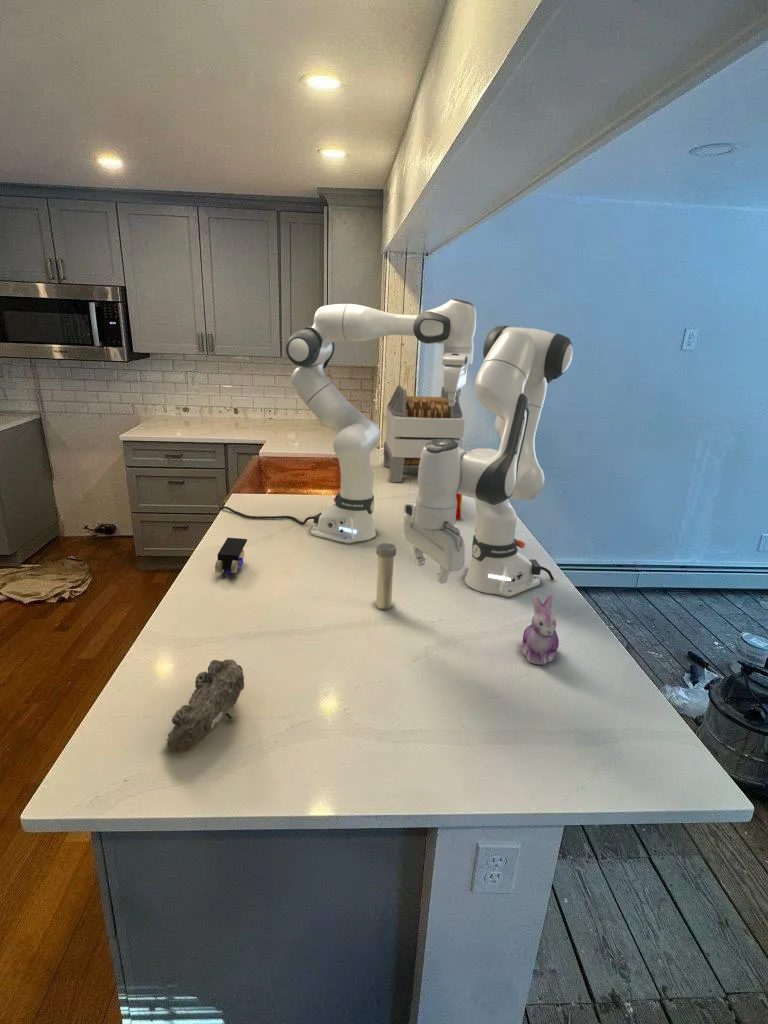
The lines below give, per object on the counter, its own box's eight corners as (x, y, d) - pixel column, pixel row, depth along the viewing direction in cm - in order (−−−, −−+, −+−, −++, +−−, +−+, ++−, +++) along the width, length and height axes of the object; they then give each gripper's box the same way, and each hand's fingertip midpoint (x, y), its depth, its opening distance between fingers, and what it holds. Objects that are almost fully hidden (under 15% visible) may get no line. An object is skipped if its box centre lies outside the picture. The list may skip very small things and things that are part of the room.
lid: (385, 548, 150) (385, 541, 149) (399, 554, 147) (400, 547, 146) (372, 553, 146) (372, 546, 146) (387, 559, 143) (387, 552, 142)
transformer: (382, 463, 289) (386, 382, 275) (445, 464, 293) (451, 384, 279) (390, 482, 257) (394, 392, 243) (460, 483, 261) (468, 394, 247)
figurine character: (238, 584, 162) (249, 557, 175) (236, 562, 158) (247, 536, 172) (215, 584, 161) (227, 556, 175) (212, 561, 158) (225, 535, 171)
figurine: (539, 671, 126) (548, 612, 121) (509, 647, 135) (517, 591, 130) (570, 661, 130) (580, 603, 125) (539, 638, 139) (548, 583, 134)
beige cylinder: (383, 600, 154) (385, 544, 149) (394, 605, 152) (397, 548, 146) (372, 605, 151) (375, 548, 146) (384, 610, 149) (387, 553, 143)
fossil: (192, 660, 117) (244, 628, 112) (224, 691, 120) (276, 661, 115) (142, 746, 98) (202, 712, 93) (182, 779, 101) (242, 748, 96)
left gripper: (453, 354, 180) (449, 398, 185) (441, 358, 161) (437, 407, 166) (473, 355, 178) (468, 399, 183) (463, 360, 160) (459, 409, 164)
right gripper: (475, 529, 115) (468, 590, 120) (424, 499, 132) (420, 553, 137) (449, 533, 112) (443, 595, 117) (400, 502, 130) (397, 557, 134)
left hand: (454, 403), depth 174 cm, fingers open, 8 cm apart
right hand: (430, 573), depth 127 cm, fingers open, 8 cm apart
